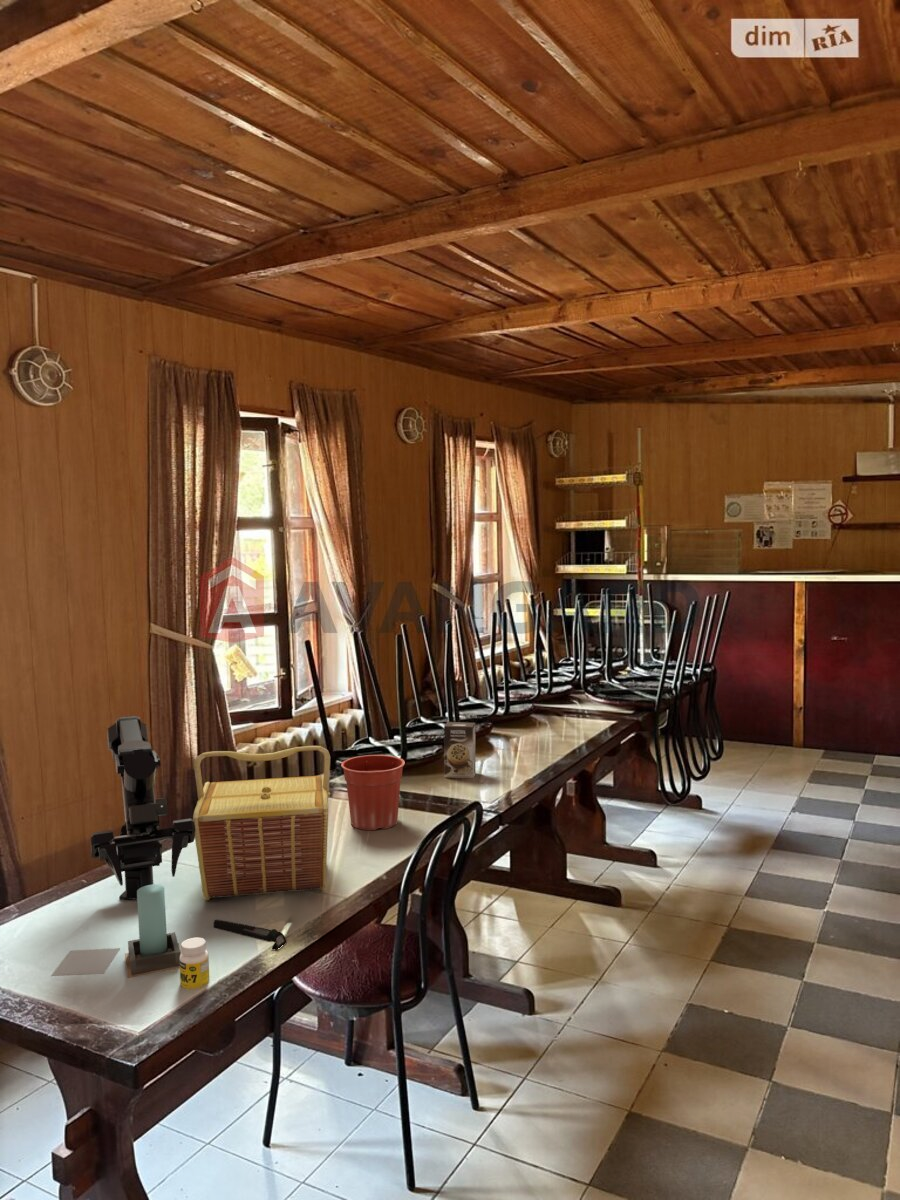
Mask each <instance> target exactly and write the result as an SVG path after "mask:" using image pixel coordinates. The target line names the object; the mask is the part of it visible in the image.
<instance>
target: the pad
mask: <svg viewBox="0 0 900 1200" xmlns="http://www.w3.org/2000/svg"><path fill="white" fill-rule="evenodd" d="M120 950H121V948H120V947H118V948H99V949H98V948H97V949H96V948H94V949H93V948H91V949H71V950H69V951H68V953H67V954H66V955H65V957H64V958H63V960H62V961H61V962H60V963H59V964H58V966H57V967H56V969H55V970H54V971H53V973H51V977H57V976H58V977H59V976H60V977H61V976H75V975H76V976H77V975H78V976H79V975H97V974H98V975H99V974H101V975H102V974H105V973H106V971H107V970H108V968H109V967H110V966H111V963H112V962H113V960H115V957H116V955H118V953H119V952H120Z"/></svg>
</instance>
